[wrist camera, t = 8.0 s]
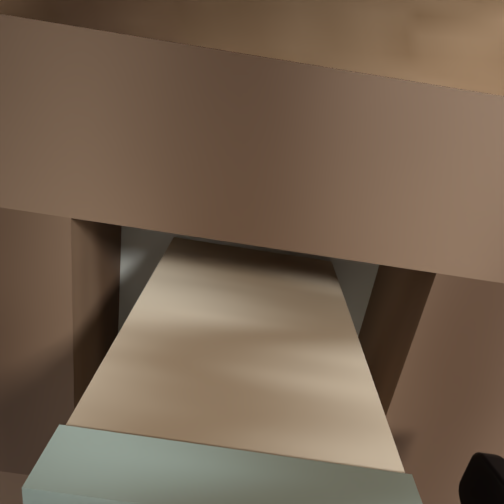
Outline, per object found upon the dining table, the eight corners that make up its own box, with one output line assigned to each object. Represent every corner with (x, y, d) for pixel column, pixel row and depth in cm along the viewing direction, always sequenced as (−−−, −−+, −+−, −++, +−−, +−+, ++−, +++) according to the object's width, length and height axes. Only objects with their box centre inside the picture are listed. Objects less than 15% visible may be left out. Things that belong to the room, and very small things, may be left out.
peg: (334, 260, 11) (437, 543, 4) (301, 388, 12) (340, 738, 6) (171, 235, 11) (21, 487, 4) (160, 367, 12) (39, 701, 6)
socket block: (549, 109, 10) (690, 126, 6) (396, 489, 15) (434, 608, 11) (-1, 20, 9) (-141, -9, 6) (30, 439, 14) (-40, 547, 11)
